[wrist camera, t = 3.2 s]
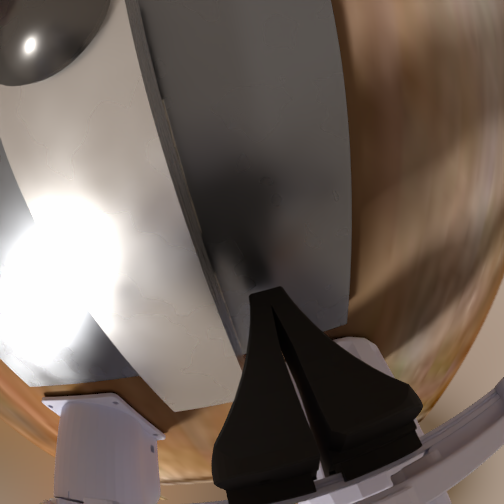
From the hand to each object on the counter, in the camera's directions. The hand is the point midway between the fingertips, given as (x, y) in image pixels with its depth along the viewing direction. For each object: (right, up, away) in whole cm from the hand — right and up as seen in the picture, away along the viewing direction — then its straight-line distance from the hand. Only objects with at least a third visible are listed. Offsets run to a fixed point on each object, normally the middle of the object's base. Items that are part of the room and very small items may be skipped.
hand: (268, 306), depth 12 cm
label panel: (-8, +3, -1) cm, 8 cm away
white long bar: (-5, +3, -2) cm, 6 cm away
